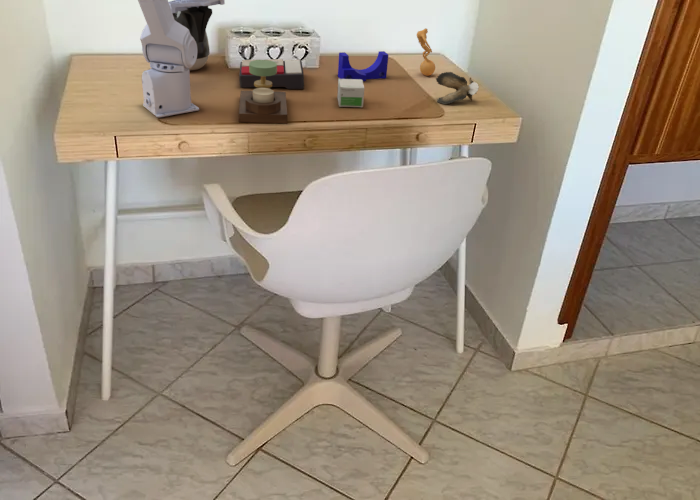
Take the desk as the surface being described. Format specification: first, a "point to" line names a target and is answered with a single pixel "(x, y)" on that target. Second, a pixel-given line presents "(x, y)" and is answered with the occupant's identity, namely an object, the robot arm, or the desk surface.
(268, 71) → the lamp
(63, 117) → the desk surface
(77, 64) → the desk surface
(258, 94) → the lamp switch
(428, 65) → the figurine
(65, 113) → the desk surface
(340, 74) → the blue u-shaped cradle
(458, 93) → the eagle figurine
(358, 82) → the small box
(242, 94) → the lamp base
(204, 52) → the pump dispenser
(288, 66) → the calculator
